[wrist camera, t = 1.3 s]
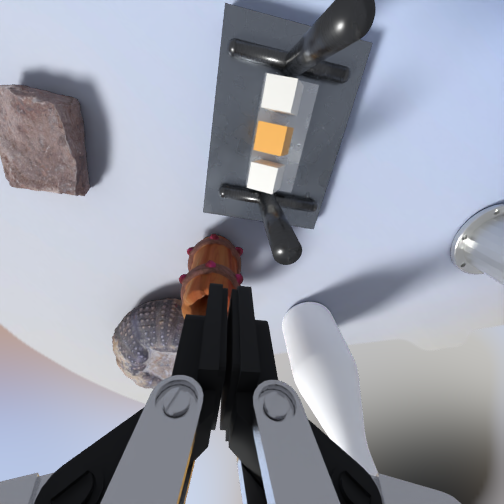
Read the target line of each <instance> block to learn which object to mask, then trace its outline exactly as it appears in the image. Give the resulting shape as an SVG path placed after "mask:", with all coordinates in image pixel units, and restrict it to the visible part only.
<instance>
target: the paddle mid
mask: <svg viewBox="0 0 504 504" xmlns="http://www.w3.org/2000/svg"><path fill="white" fill-rule="evenodd" d="M293 131H294V128H292V127H287V126H282V125H277V124H273V123H268V122H263V121H258V127H257V132H256V138H255V144H254V149H253V150H256V151H260V152H264V153H268V154H273V155H277V156H284V155H287V154H288V152H289V147H290V143H291V139H292V135H293Z"/></svg>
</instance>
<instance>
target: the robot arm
mask: <svg viewBox="0 0 504 504" xmlns="http://www.w3.org/2000/svg"><path fill="white" fill-rule="evenodd" d="M451 259H452V261H453V263H454V265H455V266H456V267H457V268H459V269H460V270H462V271H463V272H466V273H469V274H484V273H485V274H486V275H488V276H490V277H491V278H493V279H494V280H496V281H498V282H499V283H501V284H502V285H504V204H498V205H494V206H491V207H488V208H486V209H484V210H482V211H480V212H478V213H477V214H476V215H474V216H473V217H471V218H470V219H469V220H468V221H467V222H466V223H465V224H464V225H463V226H462V227H461V228H460V230H459V231H458V233H457V234H456V236H455V238H454V240H453V242H452V246H451ZM227 312H228V316H227ZM220 400H221V415H220V430H226V441H229V448H230V449H231V450H232V451H233V453H234V454H235V455H236V456H237V467H238V474H239V481H240V488H241V495H242V502H243V504H461V503H460V502H458V501H457V500H456V499H455V498H454V497H452V496H450V495H448V494H446V493H444V492H440V491H437V490H434V489H431V488H427V487H424V486H420V485H416V484H413V483H410V482H407V481H403V480H400V479H396V478H393V477H389V476H386V475H383V474H379V473H378V474H377V475H376V476H374V475H370V474H369V473H368V472H367V471H366V470H365V469H364V468H363V467H362V466H361V465H360V464H358V463H357V462H356V461H355V460H354V459H353V458H352V457H351V456H349V455H348V454H347V453H346V452H345V451H344V450H343V449H341V448H340V447H339V446H338V445H337V444H336V443H335V442H333V441H332V440H331V439H330V438H329V437H328V436H327V435H325V434H324V433H323V432H322V431H321V430H320V429H319V428H317V427H316V426H315V425H314V424H313V423H312V422H310V421H309V420H308V419H307V416H306V414H305V411H304V408H303V406H302V403H301V401H300V399H299V397H298V395H297V393H296V392H295V391H294V389H293V388H291V387H290V386H289V385H287V384H286V383H284V382H282V381H279V380H278V377H277V371H276V366H275V360H274V354H273V348H272V342H271V337H270V331H269V325H268V322H267V321H262V320H255V317H254V308H253V299H252V290H251V287H245V286H237V289H232V292H231V298H230V304H229V310H228V288H223V284H216V283H210V285H209V293H208V300H207V308H206V315H205V316H202V315H190V314H186V316H185V319H184V324H183V328H182V332H181V337H180V341H179V345H178V350H177V354H176V358H175V363H174V367H173V371H172V375H171V376H170V377H168V378H166V379H164V380H162V381H161V382H160V383H159V384H157V385H156V386H155V388H154V389H153V391H152V392H151V394H150V397H149V399H148V401H147V403H146V405H145V407H144V408H143V409H141V410H140V411H138V412H137V413H136V414H134V415H133V416H132V417H130V418H129V419H127V420H126V421H124V422H123V423H122V424H120V425H119V426H117V427H116V428H115V429H113V430H112V431H110V432H109V433H108V434H106V435H105V436H103V437H102V438H101V439H99V440H98V441H96V442H95V443H94V444H92V445H91V446H90V447H88V448H87V449H85V450H84V451H82V452H81V453H80V454H78V455H77V456H75V457H74V458H73V459H71V460H70V461H68V462H67V463H66V464H64V465H63V466H62V467H61V468H59V469H58V470H57V471H56V472H55V473H51V474H47V475H43V476H39V474H38V473H35V474H31V475H26V476H22V477H18V478H14V479H10V480H6V481H2V482H0V504H185V501H186V497H187V493H188V488H189V484H190V480H191V476H192V472H193V468H194V463H195V460H196V459H197V458H198V457H199V456H200V454H201V453H202V452H203V451H204V450H205V449H206V448H207V447H208V444H209V438H210V431H211V430H215V427H216V422H217V417H218V411H219V406H220Z"/></svg>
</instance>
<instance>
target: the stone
mask: <svg viewBox="0 0 504 504" xmlns="http://www.w3.org/2000/svg"><path fill="white" fill-rule="evenodd" d="M84 137H85V133H84V122H83V118H82V115H81V109H80V103H79V101H78V99H76V98H73V97H70V96H65V95H58V94H55V93H52V92H49V91H45V90H41V89H36V88H31V87H28V86H24V85H14V84H13V85H0V156H1V160H2V164H3V168H4V173H5V177H6V179H7V180H8V181H9V183H10V186H12V187H15V188H24V189H30V190H35V191H47V192H53V193H59V194H62V193H65V194H70V195H75V196H78V195H81V196H85V194H87V192H88V190H89V188H90V184H89V176H88V168H87V159H86V149H85V143H84Z"/></svg>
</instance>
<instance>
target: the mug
mask: <svg viewBox="0 0 504 504" xmlns="http://www.w3.org/2000/svg"><path fill="white" fill-rule="evenodd" d="M187 253H188V255H189V260H188V270H189V273H188V274H183V275H181V276H180V278H179V281H180V283H181V284H182V287H181V300H182V307H181V309H182V314H183V317H184V319H185V316H186V314H190V315H202V316H205V315H206V308H207V300H208V293H209V285H210V283H216V284H223V288H228V310H229V304H230V298H231V292H232V289H237V286H241V285H240V284H241V283H242V282H243V277H242V275H241V273H240V271H241V258H240V256H241V255H242V253H243V249H242V248H240V247H235V246H234V245H233V244H232V243H231V242H230V241H229V240H227V239H226V238H225V237H222V236H219V235H216V234H212V235H211V236H210V237H206V238H205V239H203V240H201V241H200V242H198V243H197V244H196V245H195V246H194V247H191V248H189V249H188V250H187ZM227 316H228V312H227Z"/></svg>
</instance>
